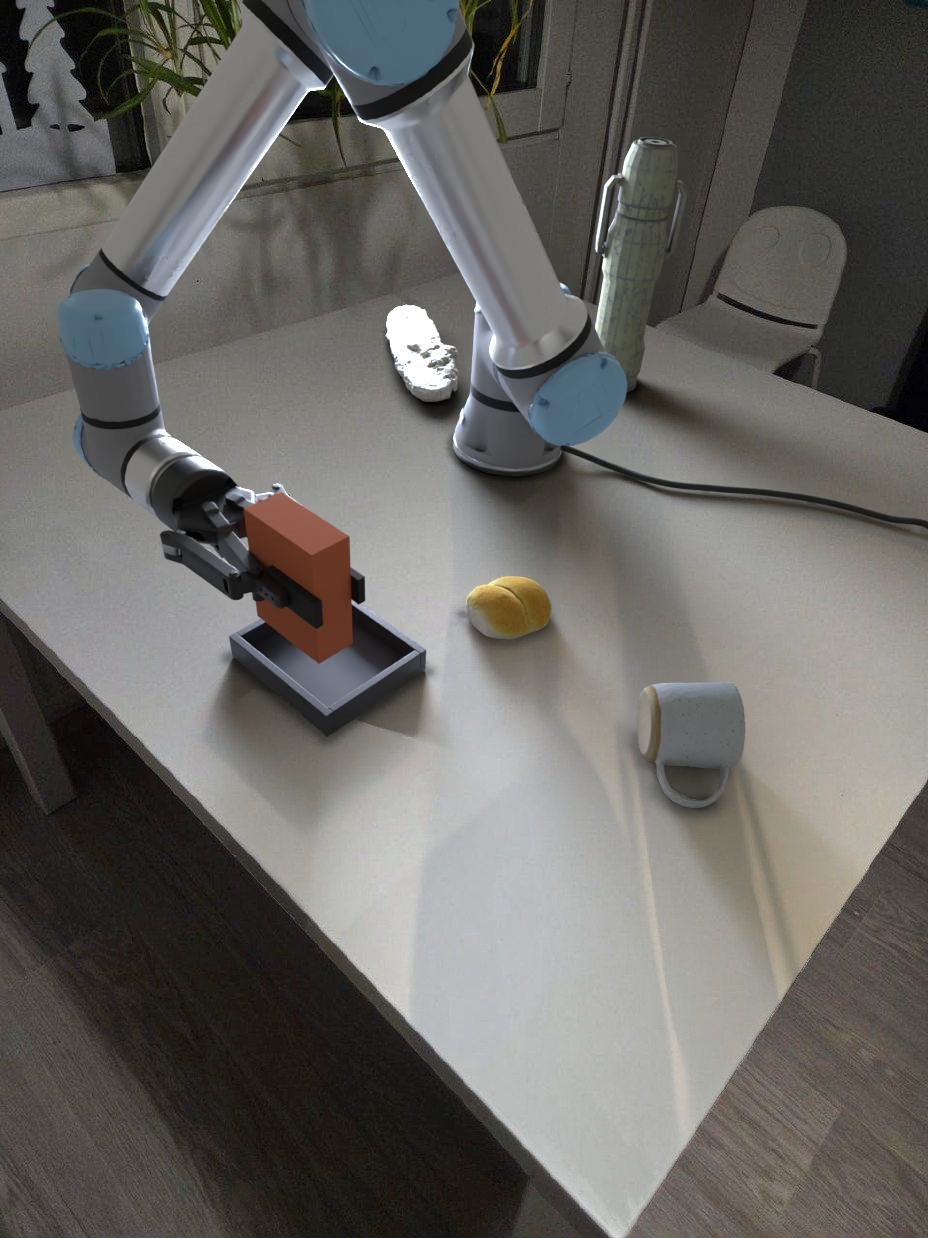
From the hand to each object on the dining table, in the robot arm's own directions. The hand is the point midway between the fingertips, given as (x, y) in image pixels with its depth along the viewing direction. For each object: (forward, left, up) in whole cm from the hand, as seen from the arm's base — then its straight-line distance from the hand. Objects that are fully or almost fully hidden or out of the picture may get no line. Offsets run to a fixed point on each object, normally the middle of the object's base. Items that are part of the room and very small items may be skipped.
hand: (340, 602), depth 69 cm
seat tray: (+2, -6, -13) cm, 14 cm away
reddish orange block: (+4, -4, -7) cm, 9 cm away
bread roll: (-17, -12, -13) cm, 25 cm away
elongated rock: (-14, -78, -13) cm, 80 cm away
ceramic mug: (-30, +9, -13) cm, 34 cm away
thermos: (-44, -70, -13) cm, 84 cm away
